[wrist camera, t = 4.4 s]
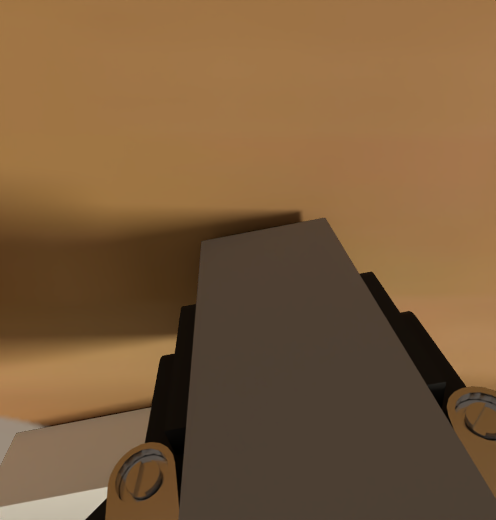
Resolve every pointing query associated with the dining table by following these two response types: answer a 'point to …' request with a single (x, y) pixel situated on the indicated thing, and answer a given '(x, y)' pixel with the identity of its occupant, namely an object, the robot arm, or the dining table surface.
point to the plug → (311, 395)
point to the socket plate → (66, 466)
